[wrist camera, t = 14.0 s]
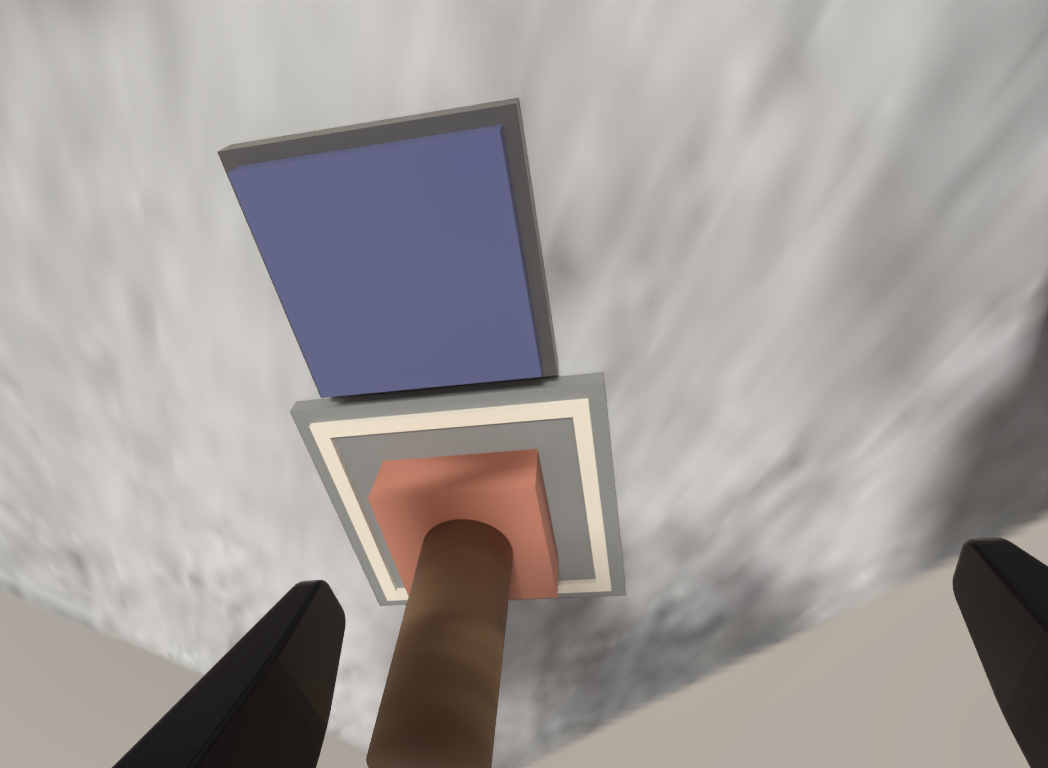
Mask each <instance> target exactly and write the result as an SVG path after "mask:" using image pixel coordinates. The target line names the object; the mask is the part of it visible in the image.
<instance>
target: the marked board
mask: <svg viewBox="0 0 1048 768" xmlns="http://www.w3.org/2000/svg"><path fill="white" fill-rule="evenodd" d="M290 413H291V415H292V417H293V419H294V422H295V424H296V426H297V428H298V430H299V432H300V435H301V437H302V439H303V441H304V443H305V445H306V447H307V450H308V452H309V454H310V456H311V458H312V460H313V463H314V465H315V467H316V469H317V471H318V473H319V476H320V478H321V480H322V482H323V484H324V486H325V489H326V491H327V493H328V495H329V497H330V499H331V501H332V504H333V506H334V508H335V510H336V512H337V514H338V517H339V519H340V521H341V523H342V525H343V527H344V530H345V532H346V534H347V536H348V538H349V540H350V542H351V545H352V547H353V549H354V551H355V553H356V555H357V558H358V560H359V562H360V564H361V566H362V568H363V571H364V573H365V575H366V577H367V579H368V581H369V583H370V586H371V588H372V590H373V592H374V594H375V596H376V599H377V601H378V603H379V605H380V606H387V605H407V601H408V597H409V596H408V594H407V591H406V589H405V587H404V584H403V582H402V579H401V577H400V575H399V572H398V570H397V567H396V565H395V563H394V560H393V558H392V555H391V553H390V551H389V548H388V546H387V543H386V541H385V539H384V536H383V534H382V531H381V529H380V527H379V524H378V522H377V519H376V517H375V515H374V512H373V510H372V508H371V505H370V503H369V500H368V497H369V495H370V492H371V489H372V487H373V484H374V482H375V479H376V477H377V474H378V471H379V469H380V466H381V464H382V461H391V460H403V459H416V458H429V457H441V456H454V455H466V454H479V453H492V452H504V451H517V450H530V449H538V453H539V458H540V463H541V468H542V474H543V479H544V484H545V489H546V495H547V500H548V505H549V510H550V516H551V521H552V526H553V532H554V537H555V542H556V547H557V553H558V594H557V598H575V597H598V596H622V595H626V590H625V579H624V569H623V559H622V550H621V540H620V530H619V520H618V510H617V500H616V490H615V481H614V471H613V461H612V451H611V441H610V431H609V421H608V412H607V402H606V392H605V382H604V373H595V374H584V375H574V376H563V377H553V378H542V379H532V380H521V381H511V382H500V383H490V384H479V385H468V386H458V387H447V388H437V389H426V390H416V391H405V392H395V393H384V394H374V395H363V396H353V397H342V398H332V399H321V400H311V401H300V402H296V403H295V404H294V406H293V407H292V409H291V411H290ZM539 599H551V598H539ZM516 600H528V599H516Z"/></svg>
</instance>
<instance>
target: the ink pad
mask: <svg viewBox="0 0 1048 768" xmlns="http://www.w3.org/2000/svg"><path fill="white" fill-rule="evenodd" d="M218 154H219V157H220V159H221V161H222V164H223V166H224V169H225V171H226V173H227V176H228V178H229V180H230V183H231V185H232V188H233V190H234V192H235V195H236V197H237V199H238V202H239V204H240V207H241V209H242V211H243V214H244V216H245V218H246V221H247V223H248V226H249V228H250V230H251V233H252V235H253V237H254V240H255V242H256V245H257V247H258V249H259V252H260V254H261V256H262V259H263V261H264V264H265V266H266V268H267V271H268V273H269V275H270V278H271V280H272V283H273V285H274V287H275V290H276V292H277V294H278V297H279V299H280V302H281V304H282V306H283V309H284V311H285V313H286V316H287V318H288V321H289V323H290V325H291V328H292V330H293V332H294V335H295V337H296V340H297V342H298V344H299V347H300V349H301V351H302V354H303V356H304V359H305V361H306V363H307V366H308V368H309V370H310V373H311V375H312V378H313V380H314V382H315V385H316V387H317V389H318V392H319V394H320V397H321V398H325V397H335V396H346V395H356V394H367V393H377V392H388V391H398V390H409V389H419V388H430V387H440V386H451V385H461V384H472V383H482V382H492V381H503V380H513V379H524V378H534V377H543V376H554V375H558V357H557V351H556V344H555V337H554V331H553V324H552V317H551V311H550V304H549V297H548V290H547V284H546V277H545V270H544V264H543V257H542V250H541V244H540V237H539V230H538V223H537V217H536V210H535V203H534V197H533V190H532V183H531V177H530V170H529V163H528V156H527V150H526V143H525V136H524V130H523V123H522V116H521V110H520V103H519V98H515V99H509V100H503V101H497V102H491V103H485V104H479V105H472V106H466V107H460V108H454V109H448V110H442V111H436V112H429V113H423V114H417V115H411V116H405V117H399V118H393V119H386V120H380V121H374V122H368V123H362V124H356V125H350V126H343V127H337V128H331V129H325V130H319V131H313V132H307V133H300V134H294V135H288V136H282V137H276V138H270V139H264V140H257V141H251V142H245V143H239V144H233V145H230V146H228V147H226V148H224V149H222V150H220V151H218Z"/></svg>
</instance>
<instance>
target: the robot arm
mask: <svg viewBox="0 0 1048 768" xmlns="http://www.w3.org/2000/svg"><path fill="white" fill-rule="evenodd" d="M953 591H954V594H955V598H956V600H957V603H958V605H959V608H960V610H961V613H962V615H963V618H964V620H965V623H966V625H967V628H968V630H969V633H970V635H971V638H972V640H973V642H974V645H975V648H976V650H977V652H978V655H979V658H980V660H981V662H982V665H983V667H984V670H985V672H986V675H987V677H988V680H989V682H990V685H991V687H992V690H993V692H994V695H995V697H996V699H997V702H998V704H999V706H1000V708H1001V711H1002V713H1003V715H1004V717H1005V719H1006V721H1007V723H1008V725H1009V727H1010V729H1011V731H1012V733H1013V735H1014V737H1015V739H1016V741H1017V743H1018V744H1019V746H1020V748H1021V750H1022V752H1023V754H1024V756H1025V758H1026V760H1027V762H1028V764H1029V765H1030V767H1031V768H1048V566H1046V565H1045V564H1043V563H1042V562H1040V561H1039V560H1037V559H1036V558H1034V557H1033V556H1031V555H1030V554H1028V553H1027V552H1025V551H1023V550H1022V549H1020V548H1019V547H1018V546H1016V545H1014V544H1013V543H1011V542H1010V541H1008V540H1005V539H1003V538H995V537H994V538H979V539H969V540H967V541H966V542H965V543H964V544H963V546H962V549H961V553H960V556H959V559H958V563H957V566H956V570H955V573H954V576H953ZM345 621H346V620H345V614H344V611H343V609H342V607H341V605H340V603H339V602H338V600H337V598H336V596H335V595H334V593H333V591H332V590H331V588H330V586H329V585H328V583H327V582H325V581H323V580H312V581H302V582H299V583H297V584H296V585H295V586H294V587H292V588H291V589H290V590H289V591H288V592H287V593H286V594H285V595H284V596H283V597H282V598H281V599H280V600H279V601H278V602H277V603H276V604H275V605H274V606H273V607H272V608H271V609H270V610H269V611H268V612H267V613H266V614H265V615H264V616H263V617H262V618H261V619H260V620H259V621H258V622H257V623H256V624H255V625H254V626H253V627H252V628H251V629H250V630H249V631H248V632H247V633H246V634H245V635H244V636H243V637H242V638H241V639H240V640H239V641H238V642H237V643H236V644H235V645H234V646H233V647H232V648H231V649H230V650H229V651H228V652H227V653H226V654H225V655H224V656H223V657H222V658H221V659H220V660H219V661H218V662H217V663H216V664H215V665H214V666H213V667H212V668H211V669H210V670H209V671H208V672H207V673H206V674H205V675H204V676H203V677H202V678H201V679H200V680H199V681H198V682H197V683H196V684H195V685H194V686H193V687H192V688H191V689H190V690H189V691H188V692H187V693H186V694H185V695H184V696H183V697H182V698H181V699H180V700H179V701H178V702H177V703H176V704H175V705H174V706H173V707H172V708H171V709H170V710H169V711H168V712H167V713H166V714H165V715H164V716H163V717H162V718H161V719H160V720H159V721H158V722H157V723H156V724H155V725H154V726H153V727H152V728H151V729H150V730H149V731H148V732H147V733H146V734H145V735H144V736H143V737H142V738H141V739H140V740H139V741H138V742H137V743H136V744H135V745H134V746H133V747H132V748H131V749H130V750H129V751H128V752H127V753H126V754H125V755H124V756H123V757H122V758H121V759H120V760H119V761H118V762H117V763H116V764H115V765H114V766H113V767H112V768H316V766H317V762H318V759H319V755H320V752H321V748H322V744H323V741H324V737H325V733H326V729H327V725H328V720H329V715H330V710H331V705H332V699H333V693H334V688H335V682H336V676H337V671H338V665H339V659H340V654H341V648H342V643H343V637H344V631H345Z"/></svg>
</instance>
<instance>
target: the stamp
mask: <svg viewBox="0 0 1048 768" xmlns="http://www.w3.org/2000/svg"><path fill="white" fill-rule="evenodd" d="M368 500H369V503H370V505H371V508H372V510H373V512H374V515H375V517H376V519H377V522H378V524H379V527H380V529H381V531H382V534H383V536H384V539H385V541H386V543H387V546H388V548H389V551H390V553H391V555H392V558H393V560H394V563H395V565H396V567H397V570H398V572H399V575H400V577H401V579H402V582H403V584H404V587H405V589H406V591H407V594H408V596H409V597H408V601H407V605H406V609H405V612H404V616H403V620H402V624H401V628H400V632H399V635H398V639H397V643H396V647H395V651H394V654H393V658H392V662H391V666H390V670H389V674H388V677H387V681H386V685H385V689H384V693H383V696H382V700H381V704H380V708H379V712H378V715H377V719H376V723H375V727H374V731H373V735H372V738H371V742H370V746H369V750H368V754H367V759H366V761H367V765H368V767H369V768H491V764H492V755H493V745H494V735H495V725H496V716H497V706H498V696H499V686H500V676H501V667H502V657H503V647H504V637H505V627H506V618H507V608H508V600H516V599H539V598H557V594H558V553H557V547H556V542H555V537H554V532H553V526H552V521H551V516H550V510H549V505H548V500H547V495H546V489H545V484H544V479H543V474H542V468H541V463H540V458H539V453H538V449H530V450H517V451H504V452H492V453H479V454H466V455H454V456H441V457H429V458H416V459H403V460H391V461H382V464H381V466H380V469H379V471H378V474H377V477H376V479H375V482H374V484H373V487H372V489H371V492H370V495H369V497H368Z"/></svg>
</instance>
